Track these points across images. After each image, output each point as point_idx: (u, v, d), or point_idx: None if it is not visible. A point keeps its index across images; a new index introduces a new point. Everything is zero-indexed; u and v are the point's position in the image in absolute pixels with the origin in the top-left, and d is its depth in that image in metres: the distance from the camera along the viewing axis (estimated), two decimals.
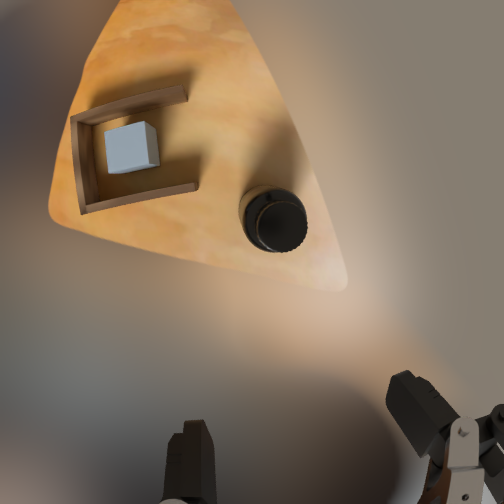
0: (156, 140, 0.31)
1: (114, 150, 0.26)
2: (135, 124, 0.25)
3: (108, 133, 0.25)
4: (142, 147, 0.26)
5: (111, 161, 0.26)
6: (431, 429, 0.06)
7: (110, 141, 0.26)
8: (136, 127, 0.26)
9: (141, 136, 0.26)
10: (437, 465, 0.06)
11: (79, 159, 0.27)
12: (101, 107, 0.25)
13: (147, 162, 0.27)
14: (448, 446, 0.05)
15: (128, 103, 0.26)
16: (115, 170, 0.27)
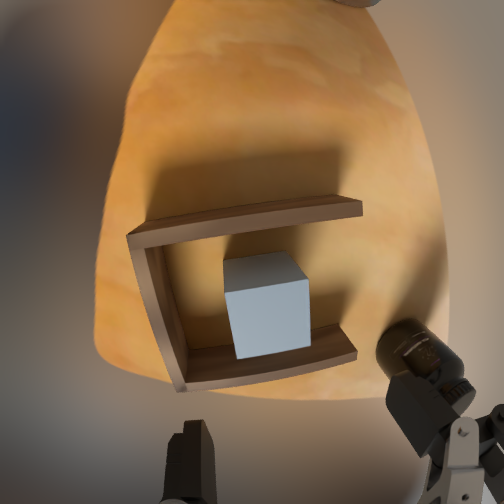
0: None
1: (248, 326, 0.16)
2: (291, 284, 0.16)
3: (234, 297, 0.16)
4: (302, 323, 0.17)
5: (242, 343, 0.17)
6: (431, 429, 0.06)
7: (240, 312, 0.16)
8: (293, 290, 0.16)
9: (301, 306, 0.16)
10: (437, 465, 0.06)
11: (163, 320, 0.17)
12: (200, 227, 0.16)
13: (308, 344, 0.17)
14: (448, 446, 0.05)
15: (263, 227, 0.16)
16: (250, 355, 0.17)
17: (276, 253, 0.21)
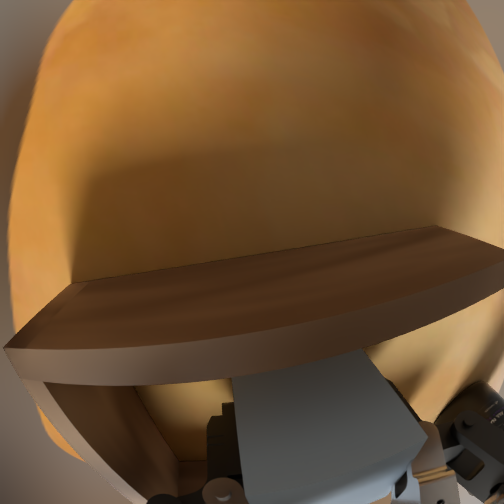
0: None
1: None
2: (395, 456, 0.05)
3: (268, 497, 0.04)
4: (387, 485, 0.06)
5: None
6: None
7: None
8: (394, 461, 0.05)
9: (397, 470, 0.05)
10: None
11: (122, 477, 0.06)
12: (164, 357, 0.05)
13: (384, 496, 0.06)
14: None
15: (349, 347, 0.05)
16: None
17: None
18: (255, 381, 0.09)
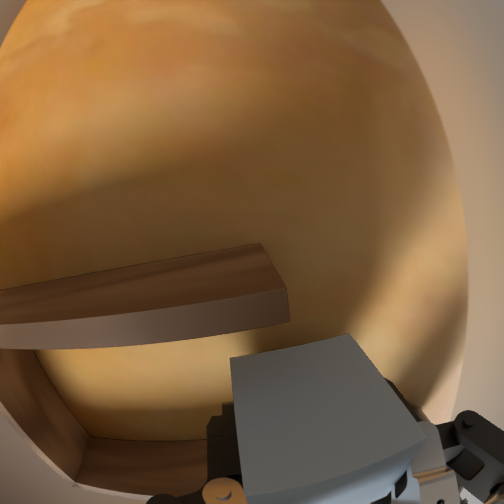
0: None
1: None
2: (394, 456, 0.05)
3: (268, 497, 0.04)
4: (386, 485, 0.06)
5: None
6: None
7: None
8: (393, 461, 0.05)
9: (397, 471, 0.05)
10: None
11: (19, 424, 0.07)
12: None
13: (383, 496, 0.06)
14: None
15: (67, 345, 0.06)
16: None
17: (334, 342, 0.10)
18: (255, 381, 0.09)
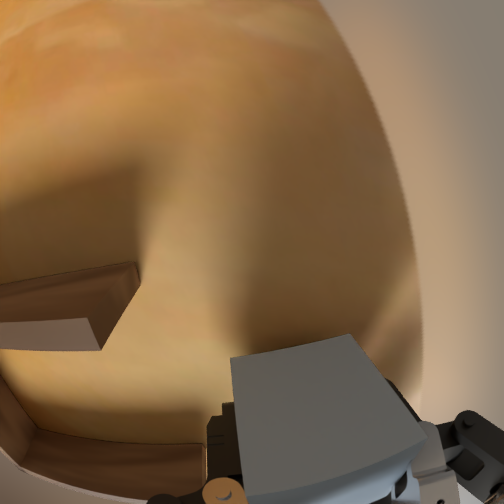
0: None
1: None
2: (394, 456, 0.05)
3: (268, 497, 0.04)
4: (387, 485, 0.06)
5: None
6: None
7: None
8: (394, 461, 0.05)
9: (397, 471, 0.05)
10: None
11: None
12: None
13: (384, 496, 0.06)
14: None
15: None
16: None
17: (334, 342, 0.10)
18: (255, 381, 0.09)
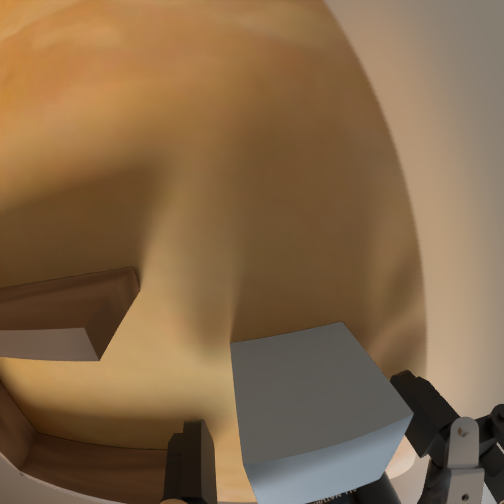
0: None
1: (286, 488, 0.06)
2: (382, 430, 0.06)
3: (264, 467, 0.05)
4: (378, 465, 0.07)
5: (273, 501, 0.06)
6: (431, 429, 0.06)
7: (274, 479, 0.06)
8: (382, 436, 0.06)
9: (387, 449, 0.06)
10: (437, 465, 0.06)
11: None
12: None
13: (376, 479, 0.07)
14: (448, 446, 0.05)
15: None
16: None
17: (327, 328, 0.11)
18: (253, 362, 0.10)
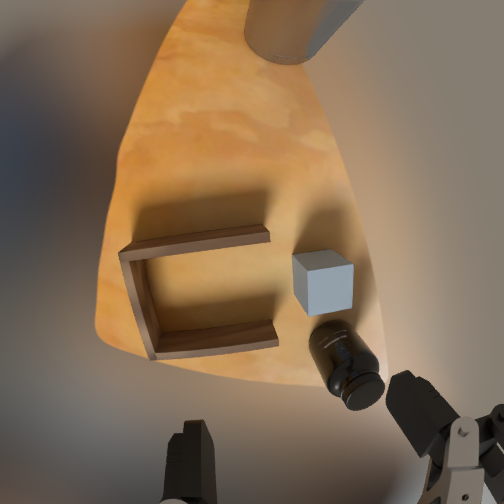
0: None
1: (317, 293, 0.26)
2: (344, 267, 0.26)
3: (312, 273, 0.26)
4: (348, 292, 0.27)
5: (313, 304, 0.27)
6: (431, 429, 0.06)
7: (314, 283, 0.26)
8: (345, 270, 0.26)
9: (349, 280, 0.27)
10: (437, 465, 0.06)
11: (140, 307, 0.26)
12: (162, 249, 0.25)
13: (350, 306, 0.27)
14: (448, 446, 0.05)
15: (200, 249, 0.25)
16: (316, 313, 0.27)
17: (326, 250, 0.32)
18: (302, 257, 0.30)
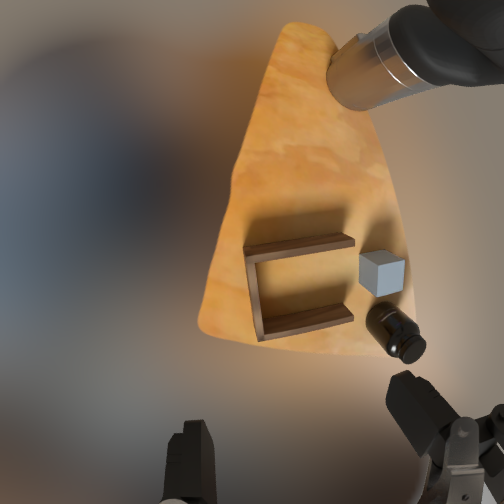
0: None
1: (383, 280, 0.36)
2: (399, 262, 0.36)
3: (381, 267, 0.35)
4: (401, 279, 0.37)
5: (380, 288, 0.36)
6: (431, 429, 0.06)
7: (381, 274, 0.36)
8: (399, 264, 0.36)
9: (401, 271, 0.36)
10: (437, 465, 0.06)
11: (258, 298, 0.36)
12: (282, 253, 0.35)
13: (401, 289, 0.37)
14: (448, 446, 0.05)
15: (309, 252, 0.35)
16: (381, 295, 0.37)
17: (381, 250, 0.41)
18: (368, 255, 0.40)
